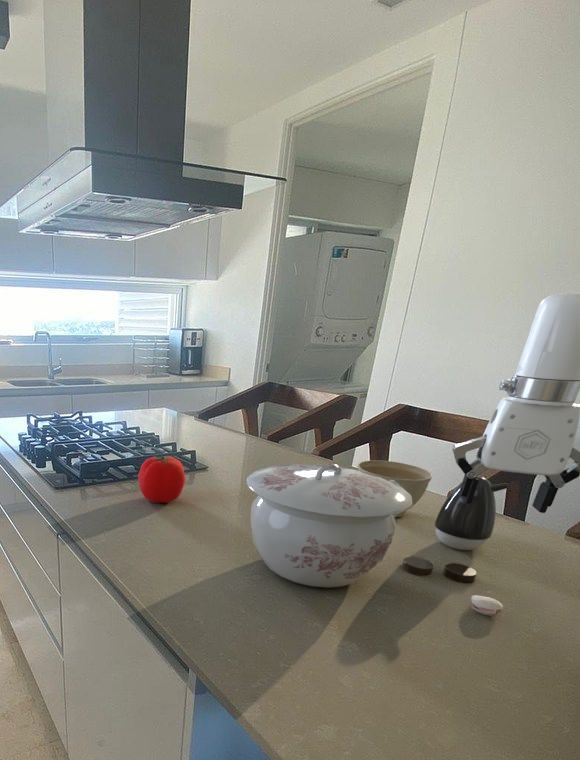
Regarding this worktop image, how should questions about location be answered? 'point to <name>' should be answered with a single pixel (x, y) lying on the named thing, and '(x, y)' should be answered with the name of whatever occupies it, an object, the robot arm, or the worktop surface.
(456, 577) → the middle disc
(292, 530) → the chamber pot
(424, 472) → the planter bowl
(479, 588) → the worktop surface
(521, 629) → the worktop surface
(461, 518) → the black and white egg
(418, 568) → the far disc
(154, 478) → the tomato
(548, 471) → the robot arm
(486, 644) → the worktop surface
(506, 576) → the worktop surface
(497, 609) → the macaroon
